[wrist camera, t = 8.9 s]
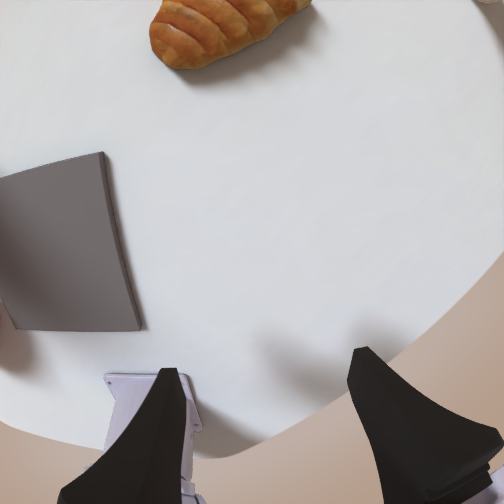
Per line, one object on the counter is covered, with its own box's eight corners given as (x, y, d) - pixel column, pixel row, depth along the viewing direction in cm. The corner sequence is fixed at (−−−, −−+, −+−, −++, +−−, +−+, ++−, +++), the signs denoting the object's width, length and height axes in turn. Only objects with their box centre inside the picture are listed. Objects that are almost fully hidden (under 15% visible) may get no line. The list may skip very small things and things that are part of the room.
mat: (141, 324, 22) (139, 331, 21) (19, 324, 21) (16, 329, 20) (103, 151, 16) (98, 153, 16) (-27, 187, 16) (-33, 190, 15)
